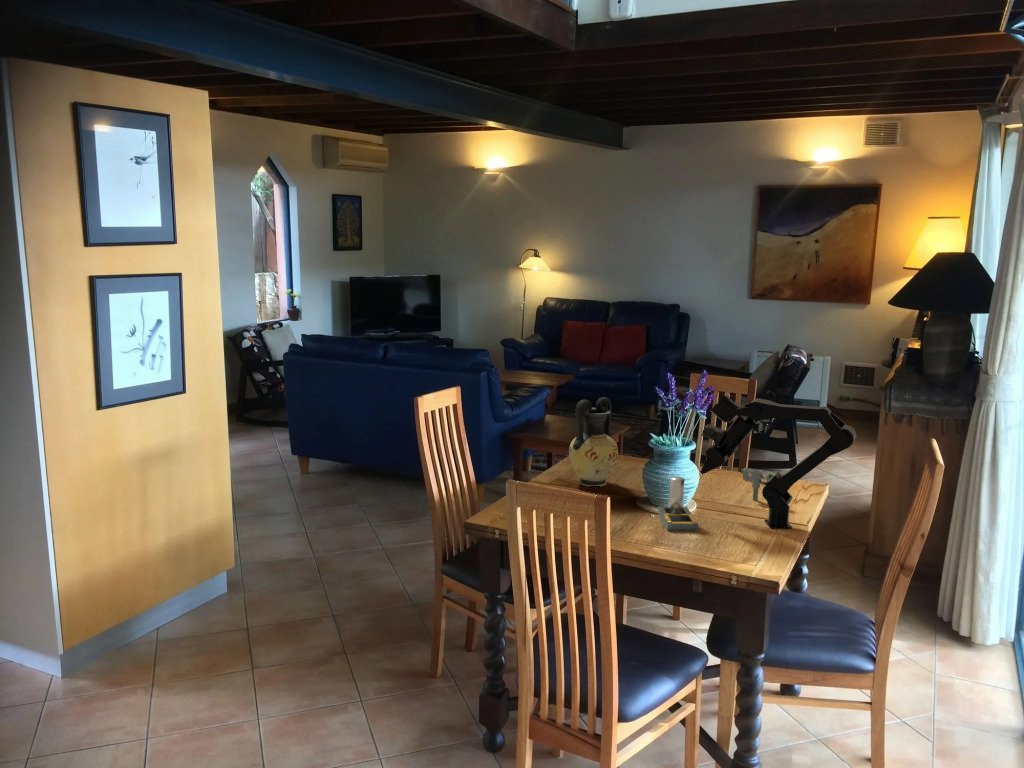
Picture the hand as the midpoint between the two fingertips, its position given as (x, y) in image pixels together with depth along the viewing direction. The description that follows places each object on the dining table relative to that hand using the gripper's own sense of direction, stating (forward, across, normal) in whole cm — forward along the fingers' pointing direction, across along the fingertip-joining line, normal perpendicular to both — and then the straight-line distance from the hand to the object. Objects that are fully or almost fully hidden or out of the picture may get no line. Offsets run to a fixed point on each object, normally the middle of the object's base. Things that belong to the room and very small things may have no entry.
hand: (705, 469), depth 260 cm
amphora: (+35, -12, -26) cm, 45 cm away
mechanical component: (+5, -21, +18) cm, 28 cm away
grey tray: (+14, +12, +4) cm, 19 cm away
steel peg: (+15, +9, +3) cm, 18 cm away
